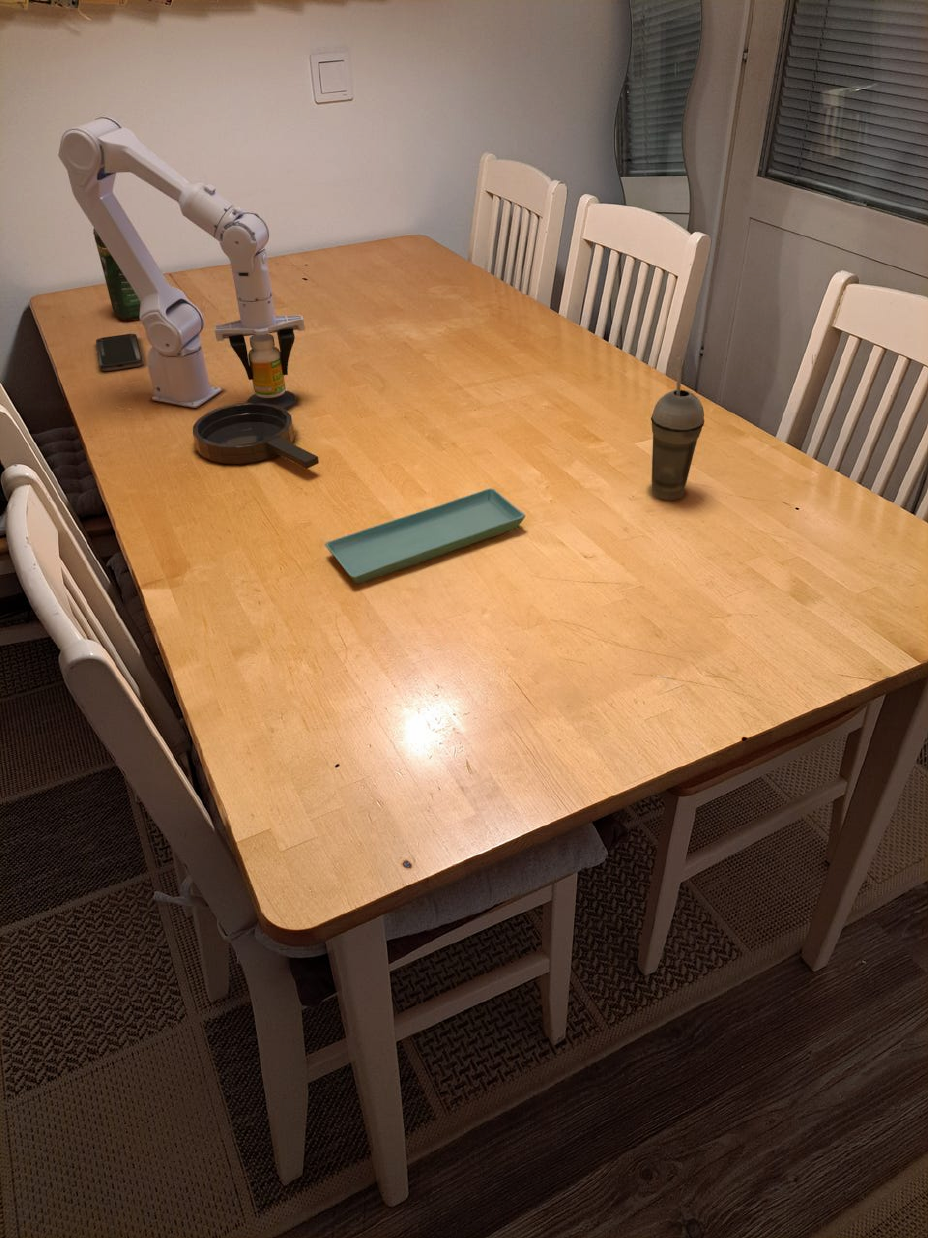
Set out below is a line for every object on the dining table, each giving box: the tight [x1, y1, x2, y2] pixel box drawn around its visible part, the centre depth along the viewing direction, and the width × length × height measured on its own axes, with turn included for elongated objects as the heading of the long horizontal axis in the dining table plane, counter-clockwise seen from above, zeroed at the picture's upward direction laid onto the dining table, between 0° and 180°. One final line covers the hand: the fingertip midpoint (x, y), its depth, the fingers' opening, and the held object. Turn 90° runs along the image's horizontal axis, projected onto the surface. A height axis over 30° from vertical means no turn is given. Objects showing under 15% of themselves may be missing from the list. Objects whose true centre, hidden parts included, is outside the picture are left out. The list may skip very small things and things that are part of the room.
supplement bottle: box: [247, 333, 287, 398], centre depth 154 cm, size 5×5×10 cm
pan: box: [192, 402, 295, 465], centre depth 146 cm, size 16×16×3 cm
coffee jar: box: [92, 228, 141, 321], centre depth 188 cm, size 10×8×19 cm
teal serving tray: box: [324, 487, 526, 585], centre depth 122 cm, size 26×9×2 cm, turn 120°
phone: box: [95, 333, 144, 373], centre depth 176 cm, size 8×1×15 cm
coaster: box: [246, 390, 297, 411], centre depth 158 cm, size 8×8×1 cm
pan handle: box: [266, 437, 320, 470], centre depth 139 cm, size 10×2×1 cm, turn 47°
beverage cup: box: [650, 356, 705, 501], centre depth 126 cm, size 7×7×20 cm
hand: (267, 375), depth 155 cm, fingers closed on supplement bottle, 5 cm apart
